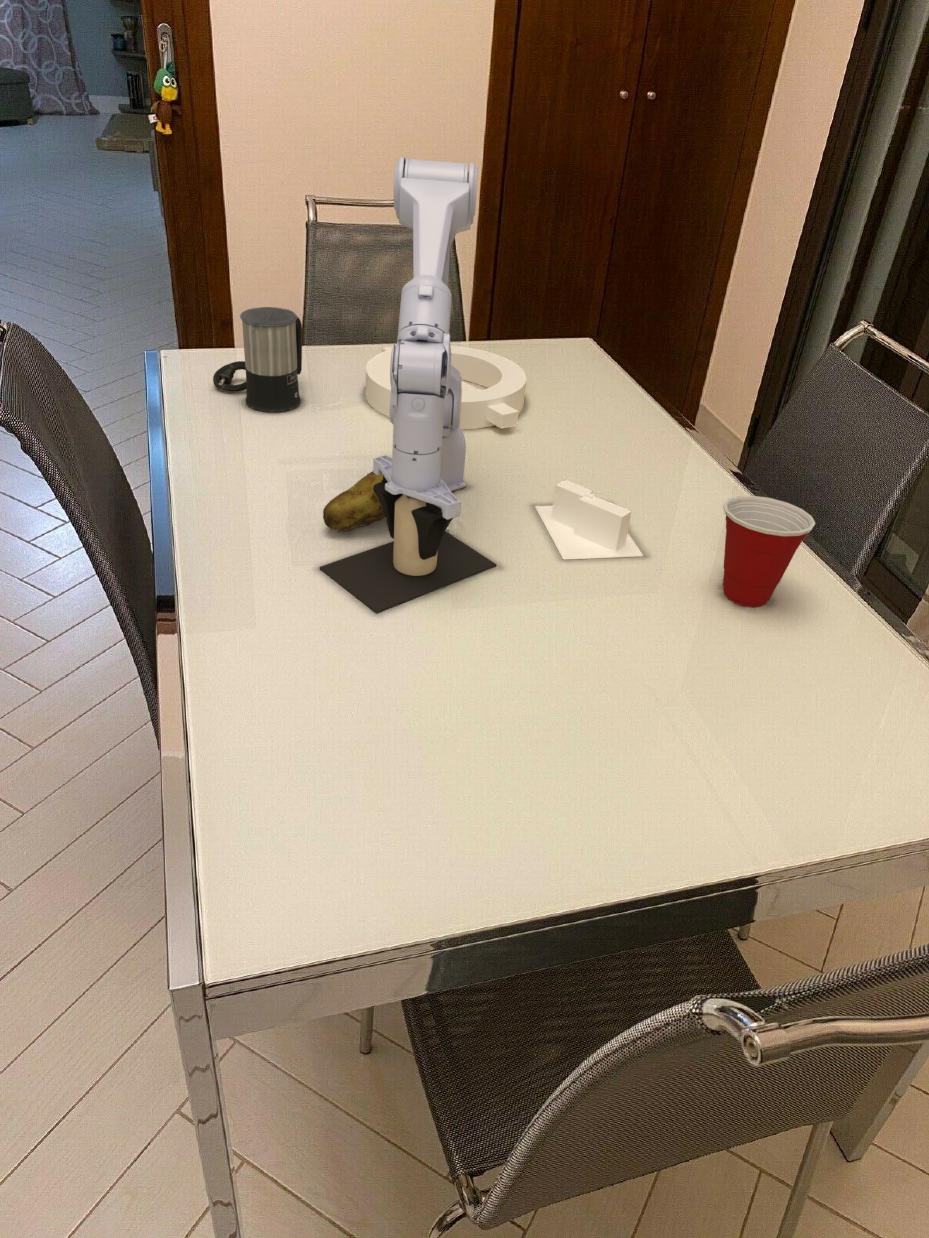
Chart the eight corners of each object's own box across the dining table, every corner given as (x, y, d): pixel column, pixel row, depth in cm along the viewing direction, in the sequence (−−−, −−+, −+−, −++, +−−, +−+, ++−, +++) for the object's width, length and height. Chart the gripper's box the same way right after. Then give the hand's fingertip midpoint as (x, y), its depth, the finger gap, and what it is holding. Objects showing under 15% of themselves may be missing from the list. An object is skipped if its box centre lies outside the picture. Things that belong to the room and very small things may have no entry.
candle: (431, 579, 116) (435, 507, 110) (388, 572, 117) (390, 500, 111) (441, 557, 120) (445, 487, 115) (399, 550, 121) (401, 480, 115)
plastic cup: (791, 583, 122) (817, 501, 115) (787, 627, 114) (815, 540, 107) (707, 564, 125) (728, 483, 118) (697, 605, 116) (719, 520, 109)
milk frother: (296, 415, 156) (293, 326, 147) (200, 408, 155) (191, 318, 147) (308, 384, 167) (306, 300, 159) (219, 378, 167) (212, 293, 158)
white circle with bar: (383, 362, 179) (384, 337, 177) (529, 379, 177) (532, 354, 175) (349, 418, 156) (349, 390, 154) (515, 438, 154) (518, 410, 152)
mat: (437, 527, 128) (437, 525, 128) (496, 566, 121) (496, 564, 120) (319, 568, 117) (319, 566, 117) (376, 613, 110) (376, 611, 110)
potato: (318, 510, 129) (318, 457, 125) (411, 507, 132) (413, 454, 128) (324, 541, 123) (324, 485, 118) (421, 536, 125) (424, 482, 121)
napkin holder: (645, 556, 125) (652, 518, 122) (563, 560, 123) (569, 521, 120) (608, 503, 137) (614, 467, 134) (533, 506, 135) (537, 469, 132)
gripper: (352, 430, 111) (352, 530, 119) (429, 476, 102) (423, 581, 110) (400, 417, 115) (397, 515, 123) (478, 461, 106) (469, 564, 114)
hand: (412, 546), depth 117 cm, fingers closed on candle, 5 cm apart
